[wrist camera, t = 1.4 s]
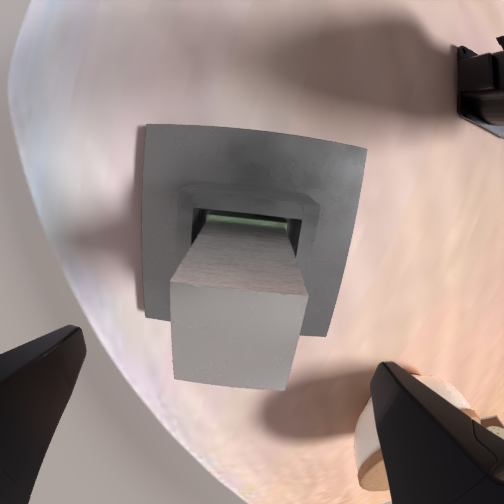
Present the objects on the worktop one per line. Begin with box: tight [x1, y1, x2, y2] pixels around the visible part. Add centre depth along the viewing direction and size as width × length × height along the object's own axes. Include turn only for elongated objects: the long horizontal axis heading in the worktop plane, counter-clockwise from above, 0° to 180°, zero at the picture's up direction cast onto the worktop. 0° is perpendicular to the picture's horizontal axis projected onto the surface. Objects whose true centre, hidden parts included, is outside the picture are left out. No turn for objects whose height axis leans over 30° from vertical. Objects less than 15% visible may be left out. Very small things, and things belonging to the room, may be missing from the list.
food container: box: [479, 415, 504, 439], centre depth 26 cm, size 12×6×10 cm, turn 74°
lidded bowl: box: [354, 374, 481, 491], centre depth 21 cm, size 13×13×11 cm
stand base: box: [141, 124, 367, 337], centre depth 17 cm, size 14×14×5 cm
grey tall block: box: [170, 210, 308, 391], centre depth 14 cm, size 4×5×10 cm
